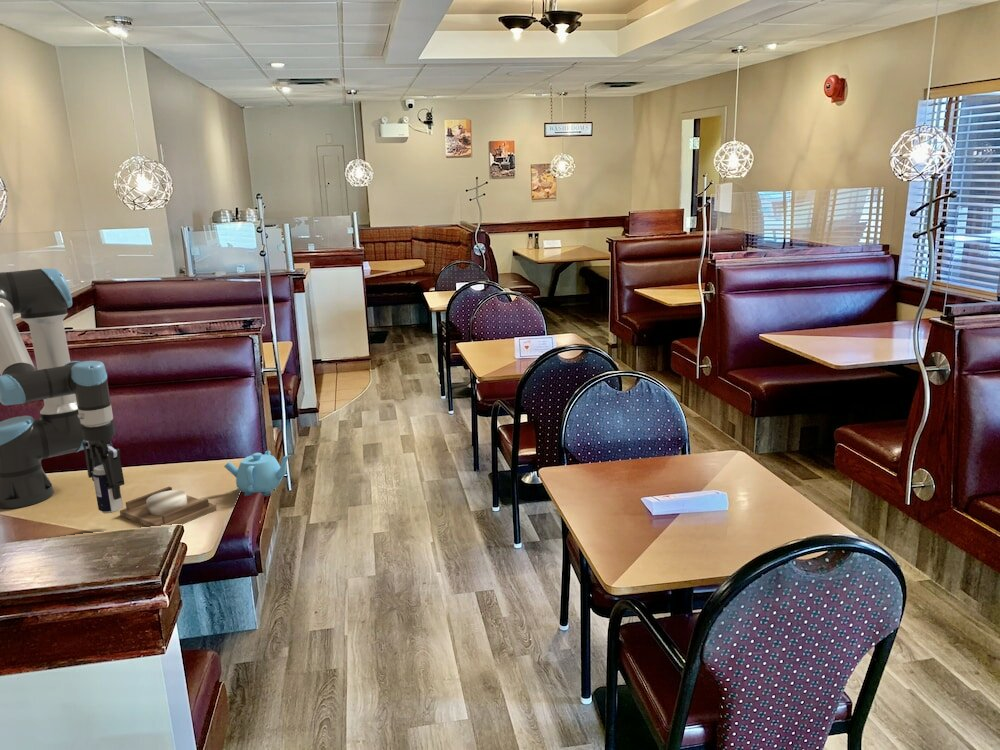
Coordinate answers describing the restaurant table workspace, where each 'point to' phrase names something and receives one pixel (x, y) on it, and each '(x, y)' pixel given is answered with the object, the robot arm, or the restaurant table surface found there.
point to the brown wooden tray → (166, 508)
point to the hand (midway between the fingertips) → (110, 506)
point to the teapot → (258, 473)
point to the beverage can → (102, 489)
